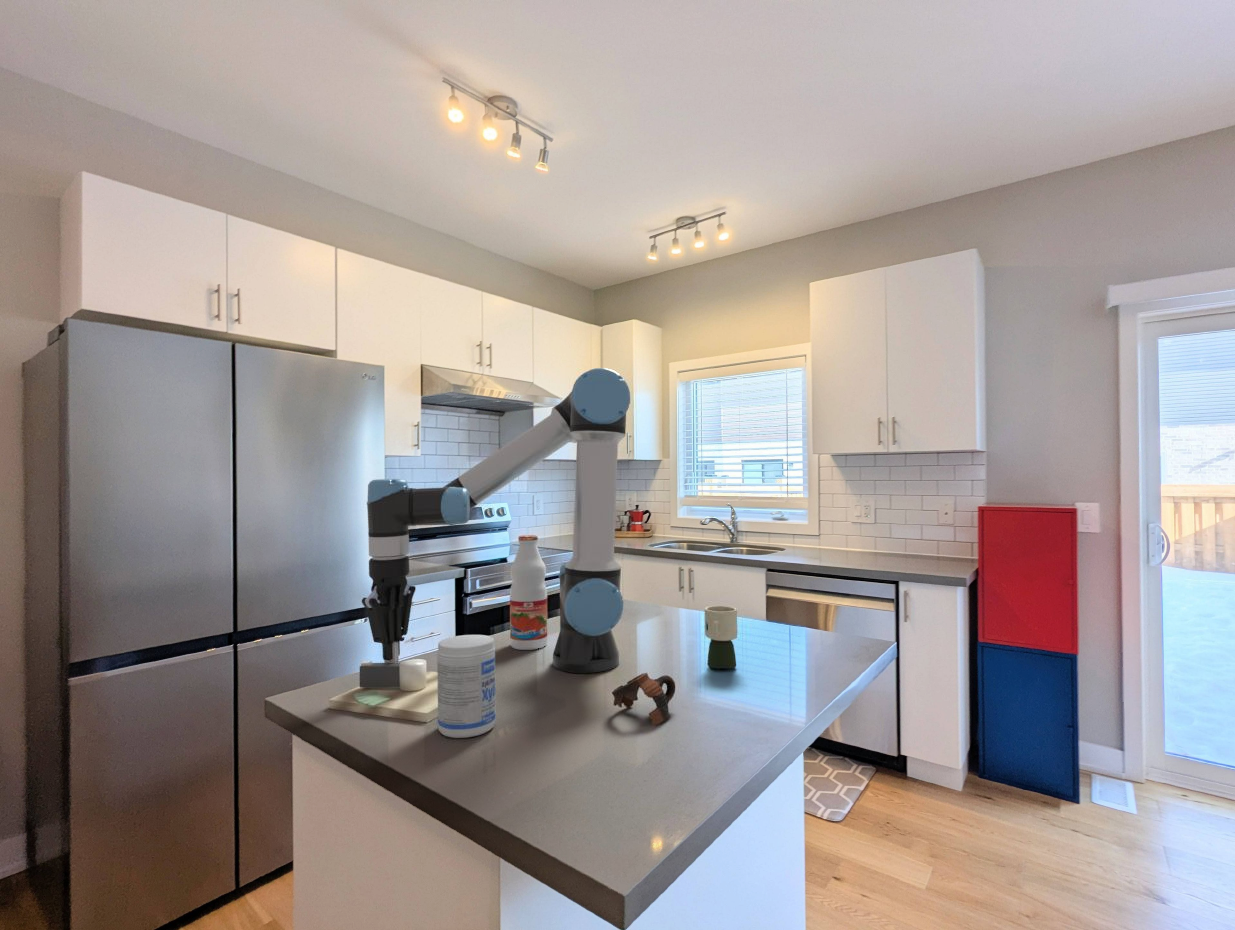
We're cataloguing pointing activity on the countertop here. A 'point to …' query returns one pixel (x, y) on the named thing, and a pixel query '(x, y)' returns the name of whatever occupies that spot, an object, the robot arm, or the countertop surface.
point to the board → (395, 701)
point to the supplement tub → (466, 685)
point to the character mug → (721, 635)
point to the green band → (370, 698)
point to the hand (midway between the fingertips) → (391, 674)
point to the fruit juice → (528, 597)
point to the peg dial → (394, 674)
